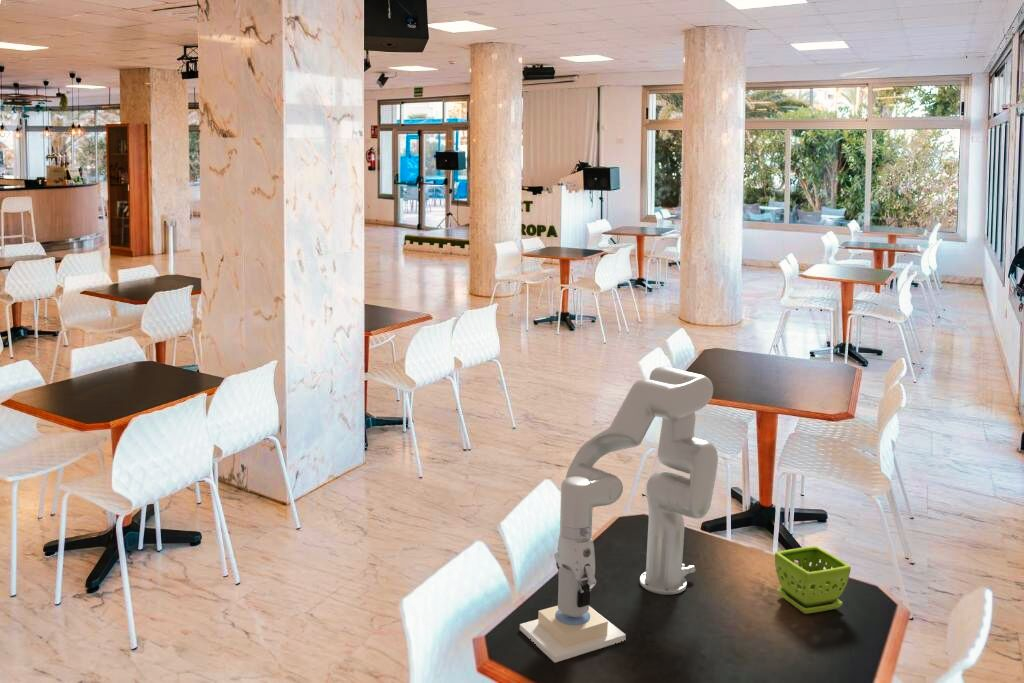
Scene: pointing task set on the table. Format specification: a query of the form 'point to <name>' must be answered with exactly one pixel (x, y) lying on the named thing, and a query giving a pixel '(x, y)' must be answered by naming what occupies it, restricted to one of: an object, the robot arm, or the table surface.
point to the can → (569, 594)
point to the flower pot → (811, 578)
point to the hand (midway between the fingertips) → (573, 597)
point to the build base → (572, 650)
